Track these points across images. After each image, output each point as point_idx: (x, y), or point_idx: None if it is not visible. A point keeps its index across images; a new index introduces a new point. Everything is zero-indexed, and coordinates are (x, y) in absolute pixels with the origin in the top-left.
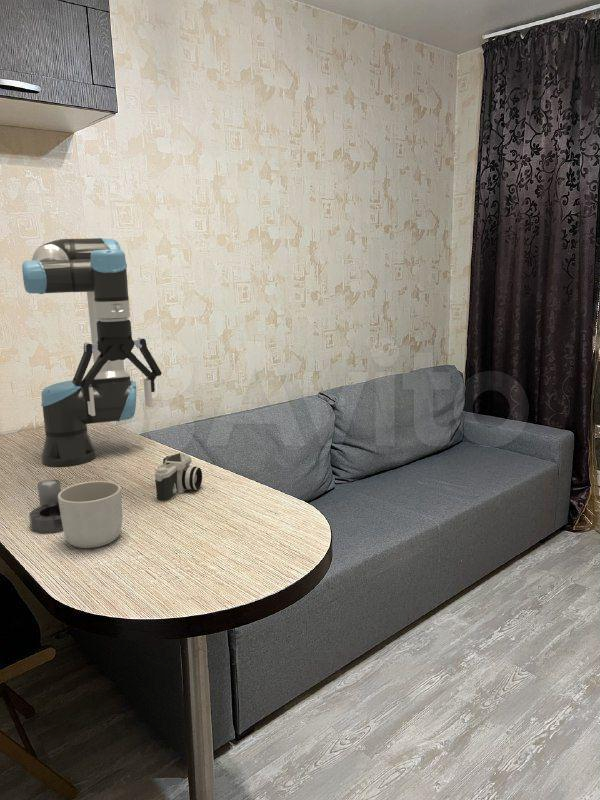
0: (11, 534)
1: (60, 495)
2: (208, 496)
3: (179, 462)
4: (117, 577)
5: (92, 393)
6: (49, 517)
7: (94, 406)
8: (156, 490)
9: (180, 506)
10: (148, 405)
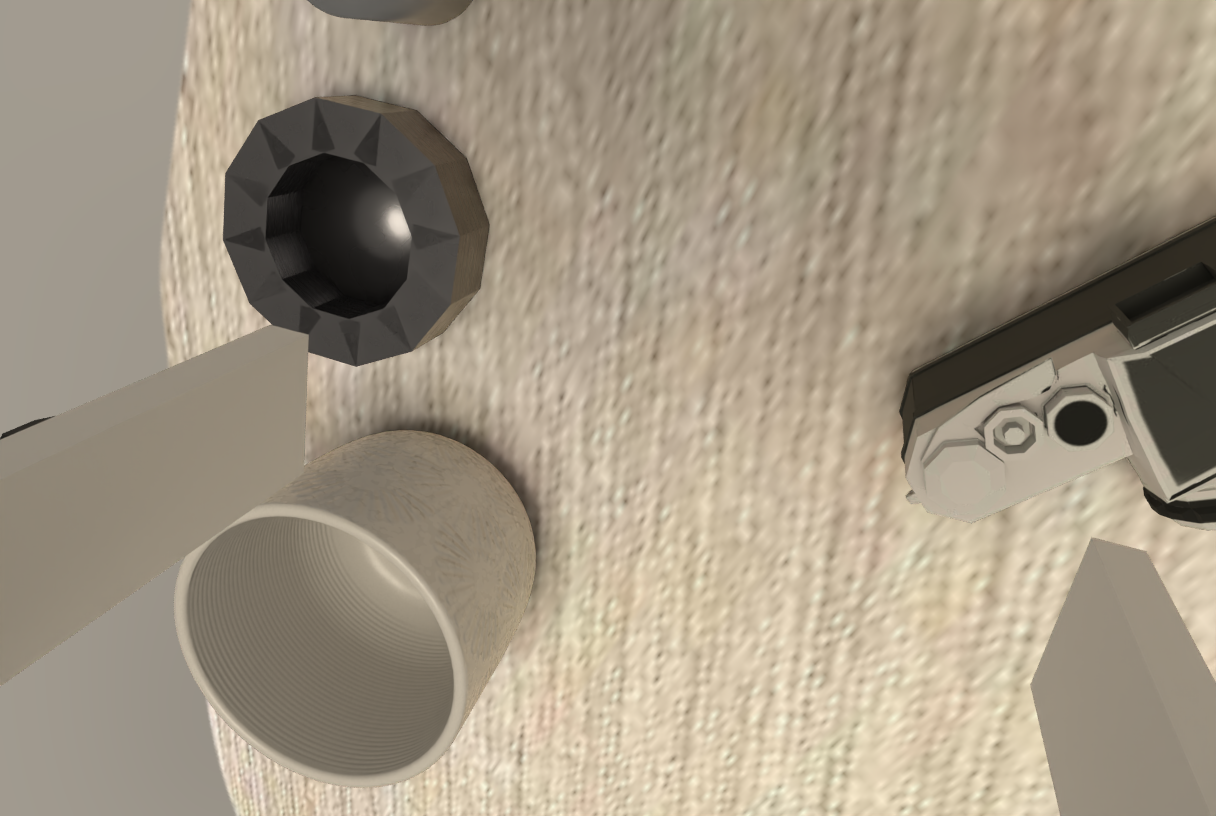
0: (187, 184)
1: (188, 580)
2: (1172, 560)
3: (1165, 476)
4: (388, 807)
5: (74, 623)
6: (291, 301)
7: (230, 523)
8: (911, 397)
9: (942, 542)
10: (1046, 665)
